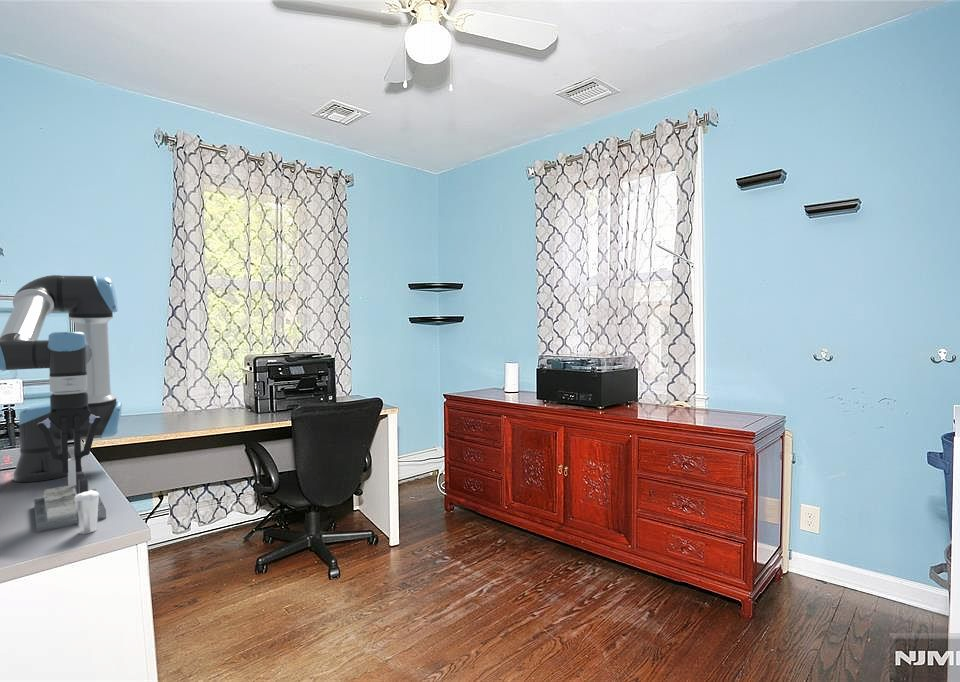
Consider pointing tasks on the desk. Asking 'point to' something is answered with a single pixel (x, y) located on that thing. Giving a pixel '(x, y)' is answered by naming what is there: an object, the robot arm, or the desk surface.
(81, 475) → the breaker
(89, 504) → the milkshake
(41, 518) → the breaker panel
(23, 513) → the desk surface
